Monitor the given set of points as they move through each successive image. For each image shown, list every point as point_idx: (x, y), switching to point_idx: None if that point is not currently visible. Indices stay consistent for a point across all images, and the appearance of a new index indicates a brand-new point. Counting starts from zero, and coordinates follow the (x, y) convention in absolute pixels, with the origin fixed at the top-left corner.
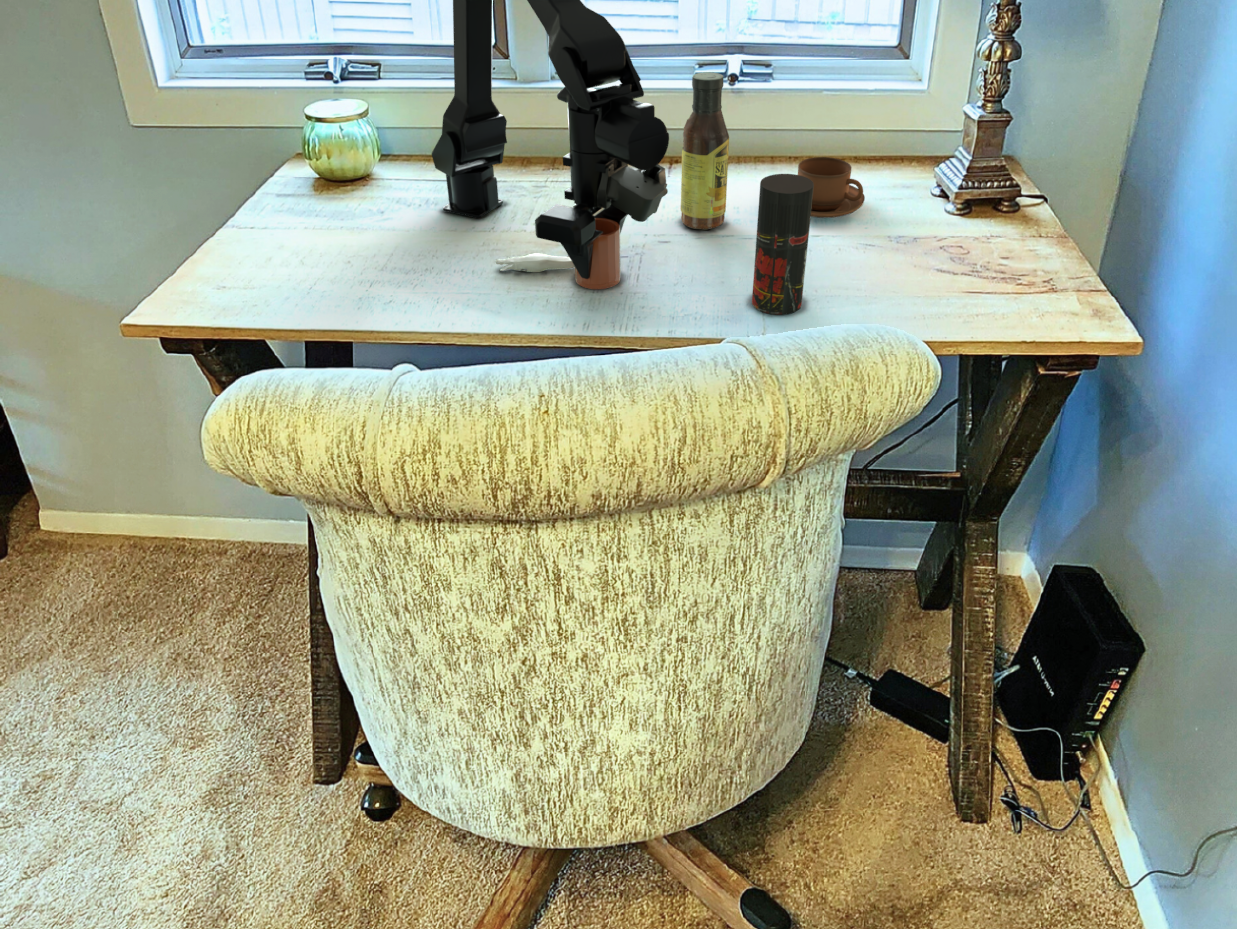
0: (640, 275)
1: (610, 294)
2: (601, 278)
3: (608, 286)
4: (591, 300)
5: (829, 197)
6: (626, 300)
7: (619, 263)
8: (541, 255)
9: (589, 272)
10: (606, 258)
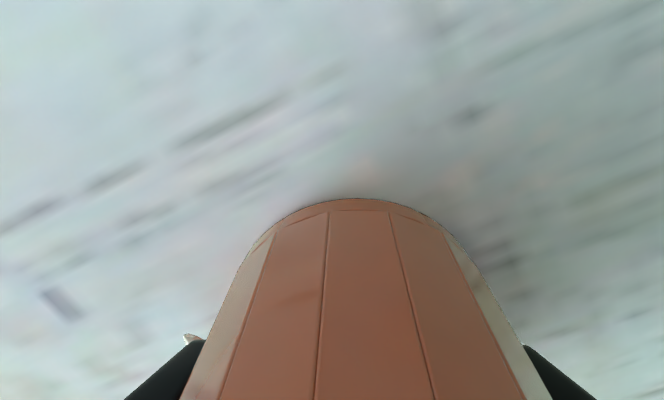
0: (185, 127)
1: (504, 171)
2: (483, 283)
3: (433, 222)
4: (610, 230)
5: None
6: (561, 33)
7: (326, 266)
8: None
9: (549, 375)
10: (525, 386)
